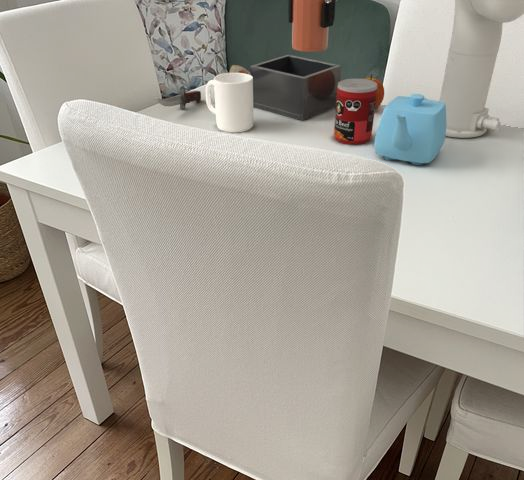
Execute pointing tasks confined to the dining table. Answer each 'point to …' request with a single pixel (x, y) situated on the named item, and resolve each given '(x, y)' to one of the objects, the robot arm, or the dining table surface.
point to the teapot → (411, 129)
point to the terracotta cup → (308, 26)
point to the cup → (232, 101)
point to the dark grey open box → (295, 86)
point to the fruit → (378, 91)
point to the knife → (181, 98)
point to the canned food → (355, 111)
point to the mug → (238, 69)
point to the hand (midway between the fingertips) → (310, 23)
